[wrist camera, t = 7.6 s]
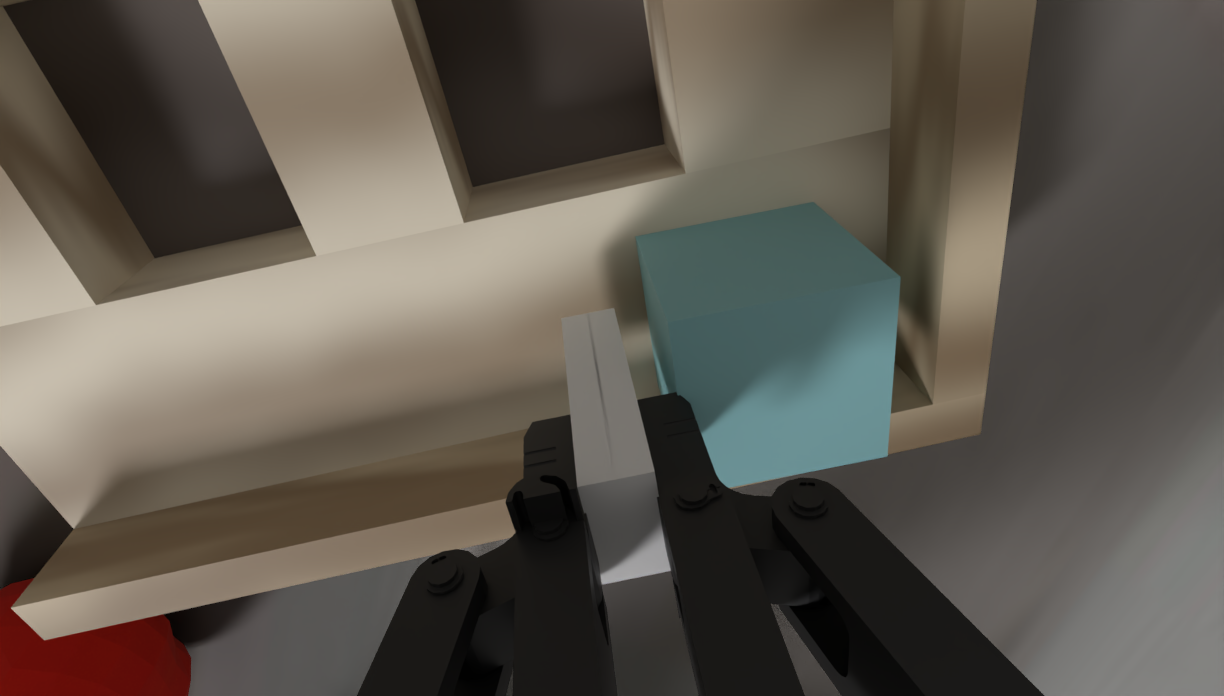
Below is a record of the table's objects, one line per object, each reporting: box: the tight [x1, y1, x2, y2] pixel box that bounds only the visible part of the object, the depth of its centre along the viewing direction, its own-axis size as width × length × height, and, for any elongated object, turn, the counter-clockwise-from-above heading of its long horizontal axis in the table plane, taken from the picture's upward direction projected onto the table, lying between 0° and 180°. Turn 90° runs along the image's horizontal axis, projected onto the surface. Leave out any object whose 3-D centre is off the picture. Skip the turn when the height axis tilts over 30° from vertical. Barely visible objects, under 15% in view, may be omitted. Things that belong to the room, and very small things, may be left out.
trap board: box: [0, 0, 1037, 640], centre depth 18 cm, size 17×28×6 cm, turn 101°
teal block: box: [635, 202, 901, 488], centre depth 17 cm, size 5×5×5 cm
